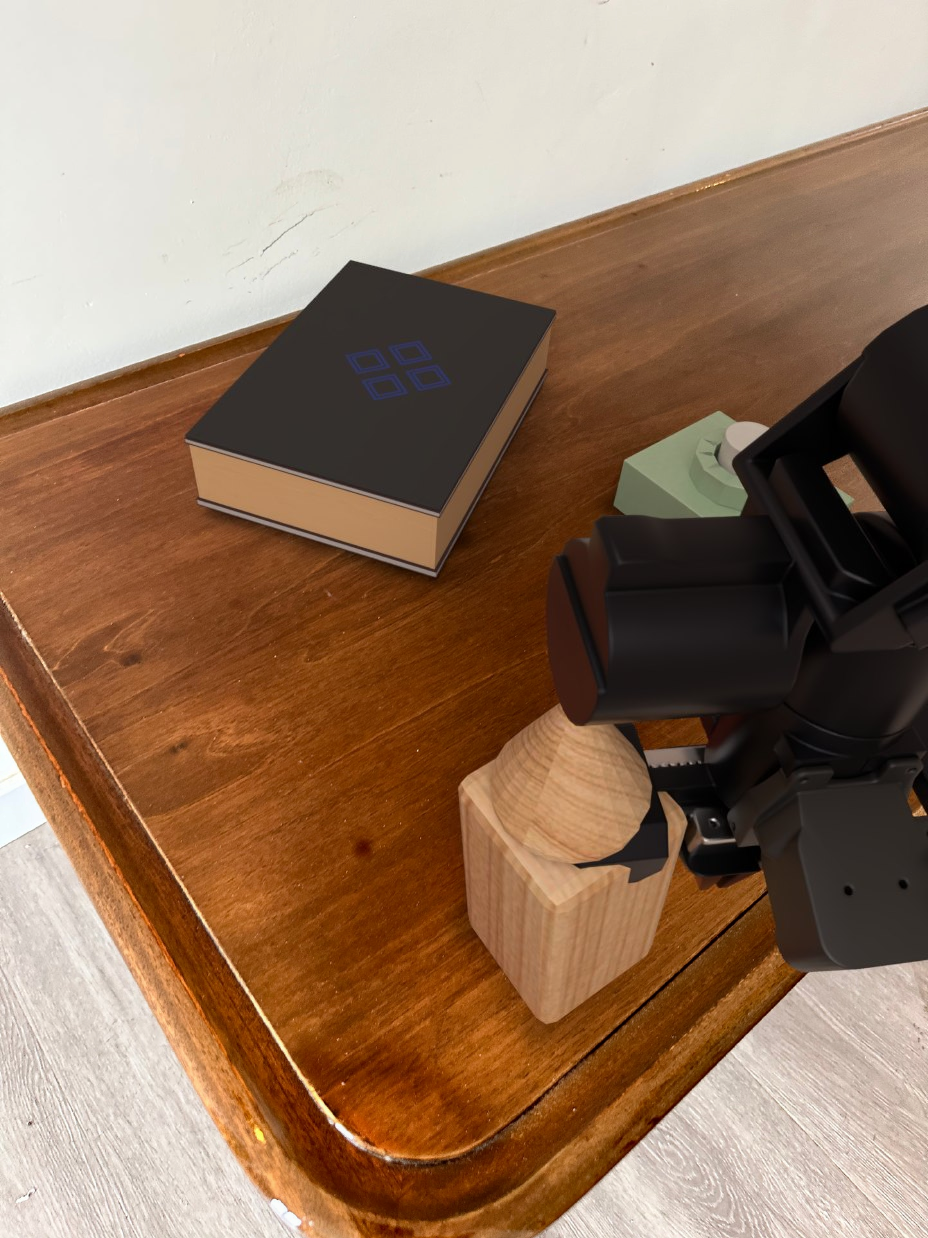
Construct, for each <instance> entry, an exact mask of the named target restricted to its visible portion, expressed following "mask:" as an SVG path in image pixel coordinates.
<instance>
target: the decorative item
mask: <svg viewBox="0 0 928 1238" xmlns="http://www.w3.org/2000/svg"><path fill="white" fill-rule="evenodd" d="M457 791H458V802H459V803H458V805H459V817H460V828H461V830H460V831H461V842H462V855H463V866H464V867H463V868H464V878H465V892H466V903H467V904H466V905H467V915H468V920H469V924H470V927H472V929H473V930H474V932H475V933H476V935H477V936H478V938H479V939H480V940H481V942H482V943H483V944H484V947H486V949H487V950H488V952H489V953H490V954H491V956H492V958H493V959H494V960H495V962H496V963H497V964H498V966H499V967H500V969H501V970H502V972H503V973H504V974H505V976H506V977H507V979H508V981H510V983H511V985H512V986H513V987H514V988H515V990H516V991H517V993H518V994H519V997H520V998H521V999H522V1000H523V1002H524V1003H525V1004H526V1005H527V1007H528V1009H529V1010H530V1012H531V1013H532V1014H533V1016H534V1017H535V1018H536V1019H537V1020H538V1021H540V1022H542V1023H543V1024H545V1025H548V1024H552V1023H557V1022H559V1021H560V1020H561V1019H562V1018H564V1017H565V1016H566V1015H568V1014H569V1013H571V1012H572V1011H573V1010H575V1009H576V1008H577V1007H578V1006H581V1004H583V1003H584V1002H586V1001H587V1000H588V999H590V998H591V997H592V996H594V995H595V994H596V993H598V992H599V991H600V990H602V989H603V988H605V987H606V986H607V985H609V984H610V983H611V982H613V981H614V980H615V979H617V978H618V977H619V976H621V975H622V974H623V973H625V972H626V971H628V970H629V969H631V968H632V967H633V966H634V965H637V963H639V962H640V961H641V960H643V959H644V958H645V957H647V955H648V954H649V952H650V950H651V948H652V947H653V943H654V940H655V937H656V934H657V933H656V932H657V930H658V926H659V923H660V920H661V916H662V913H663V909H664V905H665V902H666V898H667V895H668V892H669V888H670V885H671V882H672V878H673V875H674V871H675V867H676V864H677V861H678V857H679V851H680V847H681V844H682V840H683V837H684V834H685V830H686V827H687V820H686V817H685V815H684V813H683V810H682V809H681V807H680V806H679V805H678V804H677V803H676V802H675V801H674V800H673V799H672V798H671V797H670V796H669V795H668V793H667V792H658V795H659V798H660V801H661V804H662V807H663V810H664V813H665V815H666V818H667V821H668V845H669V858H668V860H667V861H666V863H665V865H664V867H663V869H662V871H660V872H658V873H655V874H653V875H651V876H649V877H647V878H645V879H643V880H641V881H639V882H635V883H628V879H629V875H630V870H631V868H628V867H625V866H622V865H611V866H600V867H589V868H583V869H579V868H577V867H576V866H574V865H573V864H576V863H583V862H591V861H599V860H601V859H603V858H605V857H608V856H610V855H612V854H614V853H616V852H618V851H620V850H622V849H623V848H624V846H625V845H626V844H627V843H628V842H629V841H630V840H631V838H632V837H633V836H634V835H635V834H636V833H637V832H638V830H639V828H640V824H641V822H642V820H643V819H644V817H645V815H646V813H647V812H648V810H649V808H650V802H651V792H652V784H651V780H650V777H649V773H648V770H647V767H646V764H645V762H644V761H643V759H642V758H641V757H640V755H639V754H638V752H637V751H636V749H635V748H634V747H633V745H632V744H631V743H630V742H629V741H628V740H627V739H626V738H625V737H624V735H623V734H622V733H621V732H620V731H619V730H618V729H617V728H616V727H615V726H614V725H613V724H606V725H593V726H575V725H574V724H573V723H571V722H570V721H569V720H568V718H567V716H566V715H565V713H564V711H563V709H562V707H561V704H560V702H559V703H557V704H555V706H553V707H552V708H551V709H549V710H548V711H546V712H545V713H544V714H542V715H541V716H539V717H538V718H537V719H535V720H534V721H532V722H531V723H530V724H528V725H527V726H525V727H524V728H523V729H521V730H520V731H519V732H517V734H515V735H514V736H513V737H511V739H510V740H507V742H506V743H505V744H504V746H503V747H502V748H501V750H500V752H499V753H498V755H497V757H495V758H494V759H493V760H491V761H489V762H488V763H485V764H484V765H482V766H481V767H479V768H478V769H476V770H473V772H471V773H469V774H467V775H466V777H465V778H464V779H463V780H462V781H461V782H460V784H459V785H458V787H457Z"/></svg>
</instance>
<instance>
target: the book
mask: <svg viewBox="0 0 928 1238" xmlns="http://www.w3.org/2000/svg"><path fill="white" fill-rule="evenodd" d="M556 315H557V310H556V309H552V308H549V307H545V306H540V305H537V304H533V303H528V302H524V301H519V300H517V299H512V298H509V297H508V298H507V297H504V296H500V295H497V294H496V295H495V294H492V293H488V292H484V291H480V290H475V289H470V288H467V287H463V286H458V285H455V284H450V283H446V282H443V281H439V280H435V279H430V278H426V277H423V276H418V275H414V274H409V273H407V272H402V271H397V270H393V269H390V268H386V267H381V266H378V265H373V264H369V263H365V262H361V261H357V260H353V259H349V260H348V262H347V263H346V264H345V265H343V267H342V268H340V270H339V271H338V272H337V273H336V274H335V275H334V276H333V277H332V279H330V280H329V282H328V283H327V284H325V286H324V287H323V288H322V289H321V290H320V291H319V292H318V293H317V295H315V296H314V297H313V298H312V300H311V301H310V302H309V303H308V304H307V305H306V306H305V307H304V308H303V309H302V310H301V311H300V312H299V314H297V316H296V317H295V318H294V319H293V320H291V322H290V323H289V324H288V325H287V326H286V327H285V328H284V329H283V330H282V331H281V332H280V334H278V335H277V337H276V338H275V339H274V340H273V341H272V342H271V343H270V344H269V345H268V346H267V348H265V349H264V351H262V353H260V355H259V356H258V357H257V358H256V359H254V361H253V362H252V363H251V364H250V365H249V366H248V368H247V369H246V370H244V371H243V373H242V374H241V375H240V376H239V377H238V378H237V379H236V380H235V381H234V382H233V383H232V384H231V385H230V386H229V388H227V390H226V391H225V392H224V393H223V394H222V395H221V396H220V397H219V398H218V399H217V400H216V401H215V402H214V403H213V405H212V406H211V407H210V408H209V409H208V410H207V411H206V412H205V413H204V414H203V415H202V416H201V417H200V418H199V419H198V420H197V421H196V423H195V424H194V425H193V426H192V427H191V428H190V429H188V431H187V432H186V433H185V434H184V435H183V436H184V437H183V439H184V440H185V441H184V444H186V445H188V448H189V453H190V459H191V464H192V468H193V474H194V480H195V484H196V489H197V495H198V496H197V497H196V499H195V500H196V502H197V503H196V505H197V506H200V507H203V508H206V509H209V510H212V511H216V512H218V513H223V514H226V515H229V516H232V517H235V518H239V519H241V520H244V521H245V520H246V521H248V522H251V523H255V524H259V525H262V526H265V527H268V528H271V529H275V530H279V531H281V532H284V533H287V534H291V535H294V536H297V537H300V538H304V539H307V540H310V541H313V542H317V543H319V544H322V545H323V544H324V545H326V546H329V547H333V548H336V549H339V550H341V551H346V552H349V553H353V554H356V555H359V556H363V557H366V558H368V559H372V560H376V561H379V562H381V563H386V564H388V565H392V566H395V567H399V568H401V569H405V570H408V571H410V572H411V571H412V572H414V573H418V574H421V575H424V576H427V577H431V578H433V579H437V577H438V575H439V574H440V572H441V570H442V568H443V567H444V565H445V563H446V561H447V559H448V558H449V555H450V554H451V552H452V550H453V548H454V547H455V545H456V543H457V541H458V539H459V537H460V536H461V534H462V532H463V530H464V528H465V526H466V524H467V523H468V521H469V519H470V518H471V515H472V514H473V512H474V510H475V508H476V506H477V505H478V502H479V501H480V499H481V497H482V495H483V493H484V491H485V489H486V488H487V486H488V484H489V482H490V481H491V479H492V477H493V475H494V474H495V472H496V470H497V468H498V466H499V465H500V463H501V461H502V459H503V457H504V455H505V453H506V451H507V449H509V446H510V445H511V442H512V441H513V439H514V437H515V435H516V433H517V431H518V430H519V428H520V426H521V424H522V422H523V420H524V419H525V418H526V417H525V416H526V415H527V413H528V411H529V410H530V408H531V406H532V404H533V402H534V400H535V399H536V397H537V395H538V393H539V391H540V389H541V387H542V386H543V384H544V382H545V380H546V379H547V376H548V371H549V368H547V363H548V361H547V360H548V354H549V347H550V341H551V334H552V327H553V323H554V322H555V320H556V319H557V316H556Z"/></svg>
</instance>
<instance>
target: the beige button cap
mask: <svg viewBox="0 0 928 1238" xmlns="http://www.w3.org/2000/svg"><path fill="white" fill-rule="evenodd" d="M736 422H737V423H734V424H732V425H730V426H729V427H728V428H727V429H726V432H725V435H724V438H723V441H722V444H721V447H720V450H719V453H718V462H719V464H720V466H721V467H722V468H724V469H725V470H727V471H728V472H730V473H731V474H733V475H736V476H737V474H736V473H735V471H734V469H733V467H732V460H733V459H734V457H735V456H736V455H737V454H738V453H739V452H741V451H742V450H743V449H744V448H746V447H747V446H748V445H749V444H751V443H752V442H753V441H754V440H756V439H757V438H758V437H759V436H761V435H762V434H763V433H764V432H766V431H767V430H768V429H769V428H770V427H768V426H767V425H764V424H762V423H759V422H754V421H736Z"/></svg>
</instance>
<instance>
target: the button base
mask: <svg viewBox="0 0 928 1238" xmlns="http://www.w3.org/2000/svg"><path fill="white" fill-rule="evenodd" d="M737 422H738V421H736V420H735V419H733V418H732V417H730V416H728V415H727V414H725V413H724V412H722V411H720V410H717V411H715V412H713V413H711V414H709V415H707V416H705V417H703V418H701V419H700V420H698V421H695V422H694V423H692V424H690V425H688V426H686V427H684V428H682V429H680V430H678V431H677V432H674V433H673V434H671V435H669V436H667V437H665V438H663V439H661V440H659V441H658V442H655V443H654V444H652V445H649V446H648V447H646V448H644V449H642V450H640V451H638V452H636V453H634V454H633V455H631V456H629V457H627V458H625V459H624V460H623V463H622V466H621V472H620V475H619V480H618V483H617V488H616V492H615V497H614V501H613V507H614V508H616V509H617V510H618V511H619V512H621V513H622V515H647V516H652V517H658V518H697V517H723V516H740V514H741V512H742V509H743V507H744V504H745V502H746V500H747V497H748V495H747V493H746V491H745V489H744V488H743V486H742V484H741V482H740V480H739V478H738V476H736V475H733V474H731V473H730V472H728V471H727V470H725V469H724V468H722V467H721V466H720V464H719V462H718V453H719V450H720V447H721V444H722V441H723V438H724V435H725V432H726V429H727V428H728V427H729V426H730V425H732V424H734V423H737ZM835 488H836V489H837V491H838V493H839V494H840V496H841V497H842V499H843V500H844V502H845V504H846V505H847V507H848V508H849V510H850V511H851V508H852V507H853V504H854V502H855V498H854V497H852V496H851V495H849V494H847V493H846V492H845V491H843V490H842V489H840V488H838V487H837V486H835Z"/></svg>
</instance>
